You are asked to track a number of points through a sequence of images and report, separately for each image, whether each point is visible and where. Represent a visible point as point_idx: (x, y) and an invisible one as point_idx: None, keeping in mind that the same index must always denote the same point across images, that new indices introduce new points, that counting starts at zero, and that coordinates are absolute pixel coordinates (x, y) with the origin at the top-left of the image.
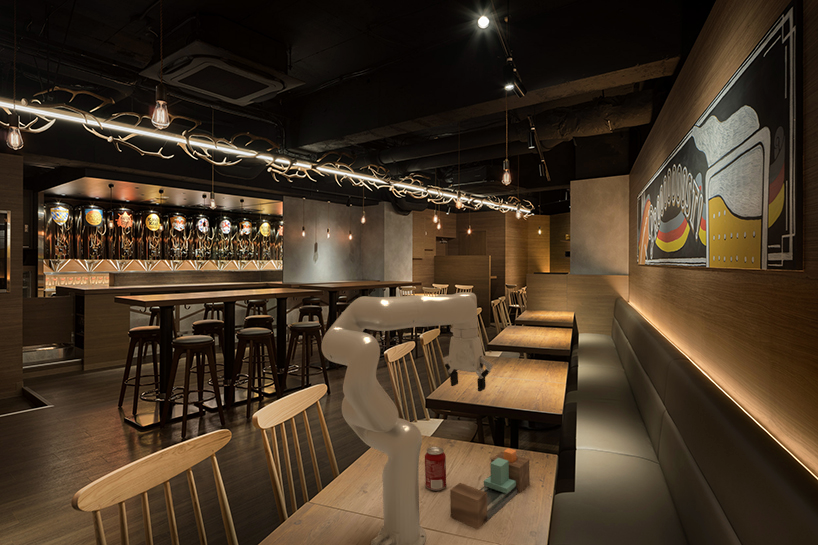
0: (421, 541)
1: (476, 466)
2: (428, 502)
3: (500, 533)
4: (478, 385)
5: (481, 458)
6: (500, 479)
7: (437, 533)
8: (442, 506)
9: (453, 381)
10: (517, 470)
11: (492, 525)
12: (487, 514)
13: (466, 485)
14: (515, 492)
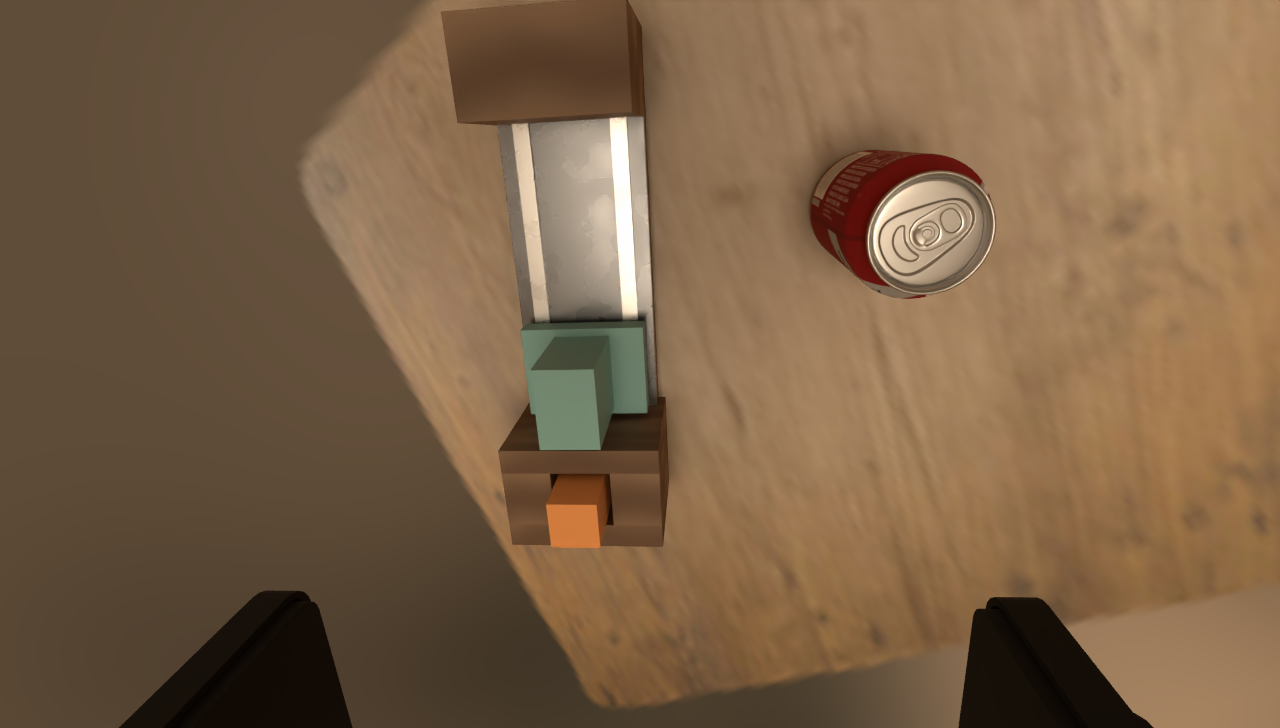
0: None
1: (801, 481)
2: (808, 57)
3: (412, 82)
4: (182, 687)
5: (822, 553)
6: (549, 346)
7: None
8: (728, 78)
9: (1031, 717)
10: (513, 442)
11: None
12: (500, 132)
13: (584, 110)
14: None
